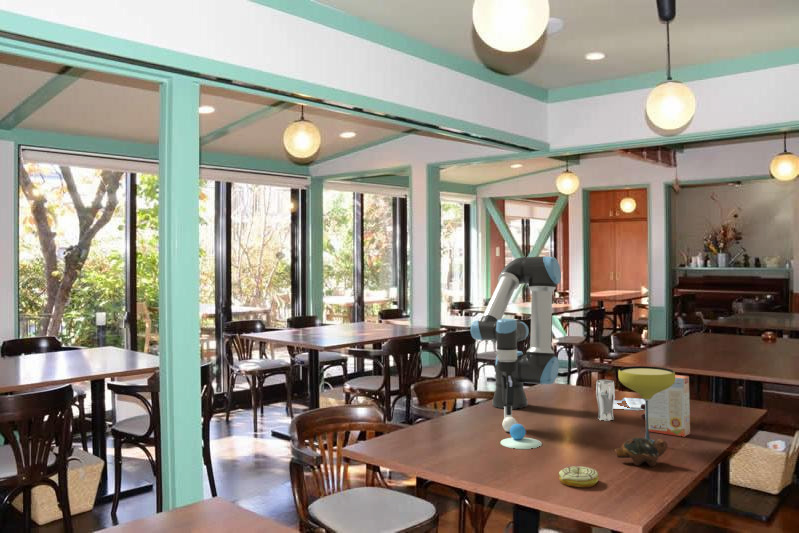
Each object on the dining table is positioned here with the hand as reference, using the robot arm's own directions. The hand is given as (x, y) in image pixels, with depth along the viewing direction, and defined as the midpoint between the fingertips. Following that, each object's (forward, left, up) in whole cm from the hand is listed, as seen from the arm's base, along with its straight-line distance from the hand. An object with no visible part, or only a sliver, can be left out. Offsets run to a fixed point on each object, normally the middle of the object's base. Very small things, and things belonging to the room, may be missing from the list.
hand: (508, 422), depth 245 cm
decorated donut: (+57, -24, -2) cm, 62 cm away
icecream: (+26, +55, -2) cm, 61 cm away
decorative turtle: (+56, +4, -2) cm, 56 cm away
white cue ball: (+4, -3, +1) cm, 6 cm away
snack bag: (+2, +66, -3) cm, 66 cm away
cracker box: (+39, +41, -2) cm, 57 cm away
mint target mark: (+18, -10, -2) cm, 21 cm away
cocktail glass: (+44, +23, -2) cm, 50 cm away
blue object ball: (+14, -8, +1) cm, 16 cm away
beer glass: (+13, +39, -2) cm, 41 cm away
